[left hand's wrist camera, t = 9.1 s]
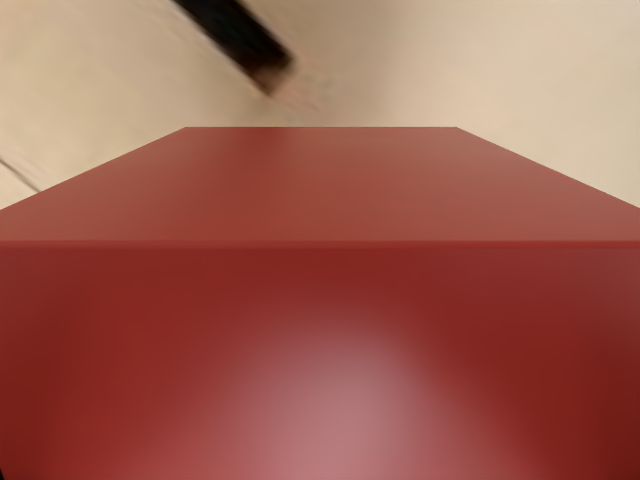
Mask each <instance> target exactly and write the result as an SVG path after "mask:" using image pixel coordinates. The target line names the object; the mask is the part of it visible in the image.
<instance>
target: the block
mask: <svg viewBox="0 0 640 480" xmlns="http://www.w3.org/2000/svg"><path fill="white" fill-rule="evenodd" d="M0 470H1V473H2V476H3V478H4V480H640V208H638V207H636V206H634V205H631V204H629V203H627V202H625V201H622V200H620V199H618V198H616V197H613V196H611V195H609V194H607V193H604V192H602V191H600V190H597V189H595V188H593V187H591V186H588V185H586V184H584V183H582V182H579V181H577V180H575V179H573V178H570V177H568V176H566V175H564V174H561V173H559V172H557V171H554V170H552V169H550V168H548V167H545V166H543V165H541V164H539V163H536V162H534V161H532V160H530V159H527V158H525V157H523V156H521V155H518V154H516V153H514V152H512V151H509V150H507V149H505V148H502V147H500V146H498V145H496V144H493V143H491V142H489V141H487V140H484V139H482V138H480V137H478V136H475V135H473V134H471V133H469V132H466V131H464V130H462V129H459V128H457V127H185V128H183V129H180V130H178V131H176V132H174V133H171V134H169V135H167V136H165V137H162V138H160V139H158V140H156V141H153V142H151V143H149V144H147V145H145V146H142V147H140V148H138V149H136V150H133V151H131V152H129V153H127V154H124V155H122V156H120V157H118V158H115V159H113V160H111V161H109V162H107V163H104V164H102V165H100V166H98V167H95V168H93V169H91V170H89V171H86V172H84V173H82V174H80V175H77V176H75V177H73V178H71V179H69V180H66V181H64V182H62V183H60V184H57V185H55V186H53V187H51V188H48V189H46V190H44V191H42V192H40V193H37V194H35V195H33V196H31V197H28V198H26V199H24V200H22V201H19V202H17V203H15V204H13V205H10V206H8V207H6V208H4V209H2V210H0Z"/></svg>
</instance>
